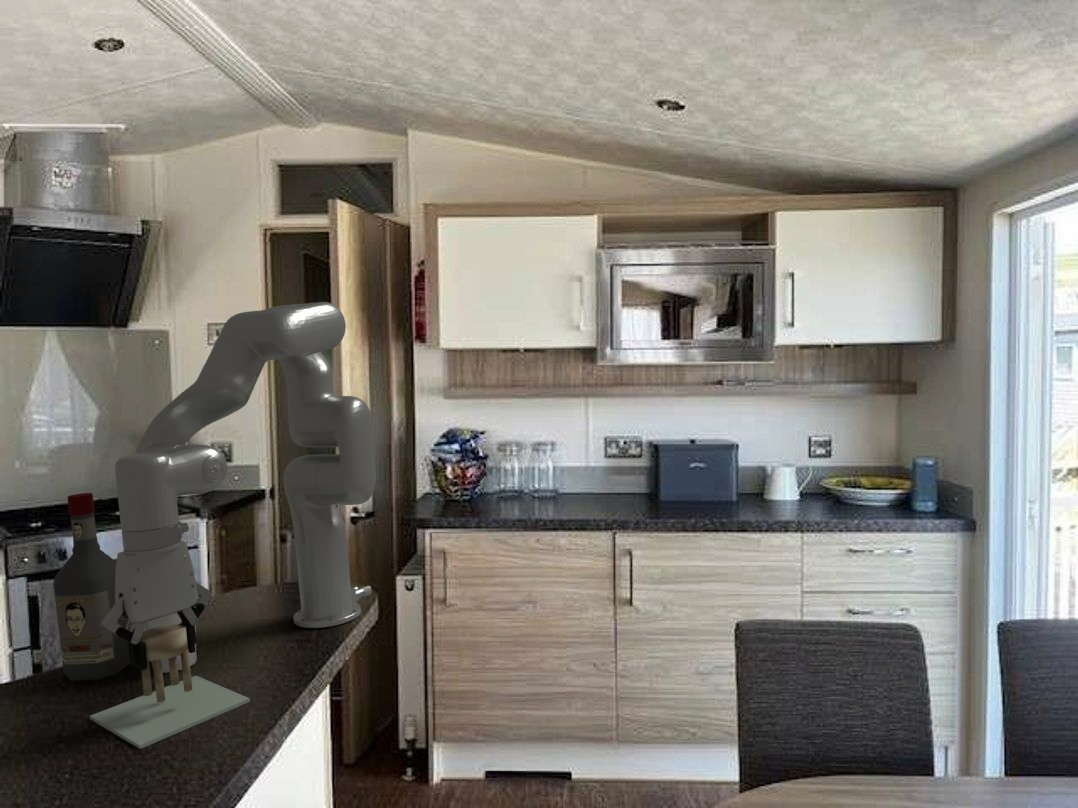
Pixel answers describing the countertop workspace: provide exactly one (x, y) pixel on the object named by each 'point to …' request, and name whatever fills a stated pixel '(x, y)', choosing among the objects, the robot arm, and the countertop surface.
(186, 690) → the round tan stool
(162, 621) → the white cup
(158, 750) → the countertop surface
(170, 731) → the sage mat
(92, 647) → the liquor
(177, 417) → the robot arm
